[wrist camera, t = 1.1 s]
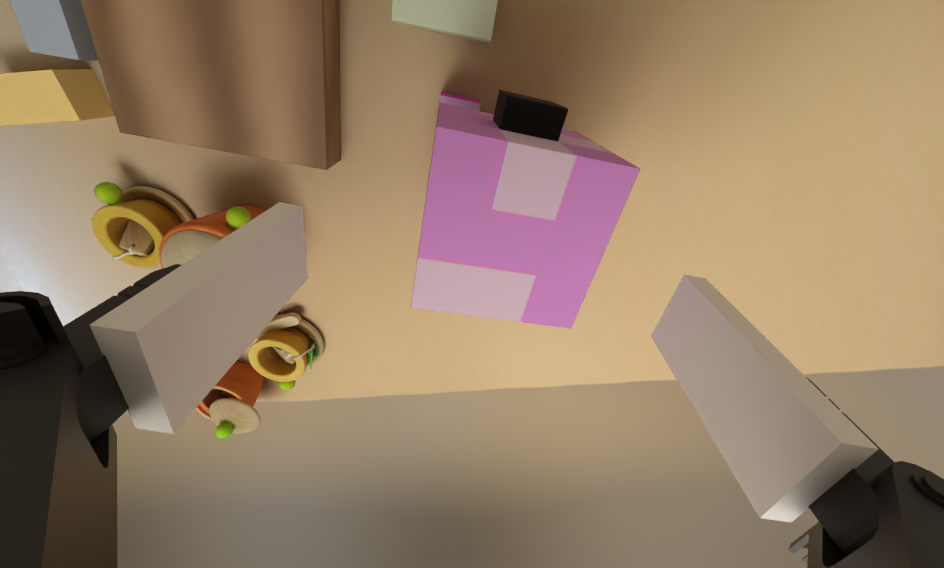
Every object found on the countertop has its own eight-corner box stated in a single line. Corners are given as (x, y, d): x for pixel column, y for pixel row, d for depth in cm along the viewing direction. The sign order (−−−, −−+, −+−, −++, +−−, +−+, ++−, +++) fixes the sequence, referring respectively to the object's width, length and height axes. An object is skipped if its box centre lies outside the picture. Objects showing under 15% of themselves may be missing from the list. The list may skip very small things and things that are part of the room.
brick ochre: (43, 120, 28) (-1, 126, 25) (16, 75, 26) (-35, 76, 24) (117, 115, 28) (80, 120, 25) (94, 69, 26) (51, 69, 24)
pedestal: (153, 126, 28) (120, 132, 25) (99, -91, 22) (47, -112, 19) (340, 160, 29) (326, 169, 26) (338, -39, 23) (320, -52, 20)
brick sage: (401, 25, 24) (391, 19, 22) (404, -34, 23) (394, -47, 20) (490, 43, 25) (491, 40, 22) (499, -13, 23) (501, -23, 21)
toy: (444, 70, 25) (442, 85, 12) (554, 95, 26) (655, 133, 14) (423, 215, 30) (407, 329, 18) (515, 231, 32) (562, 348, 19)
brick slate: (119, 60, 26) (79, 60, 23) (75, 52, 26) (29, 51, 23) (87, -52, 23) (36, -67, 20) (36, -62, 23) (-22, -77, 20)
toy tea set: (96, 174, 30) (-52, 216, 22) (279, 166, 29) (198, 205, 21) (222, 397, 43) (159, 476, 35) (350, 396, 43) (318, 476, 34)
